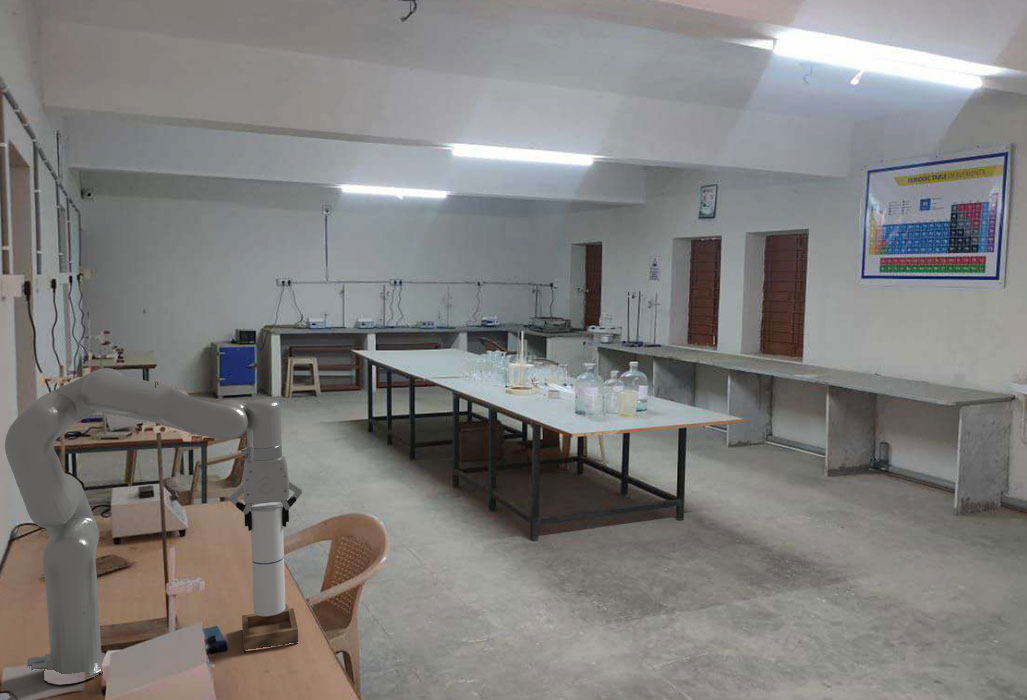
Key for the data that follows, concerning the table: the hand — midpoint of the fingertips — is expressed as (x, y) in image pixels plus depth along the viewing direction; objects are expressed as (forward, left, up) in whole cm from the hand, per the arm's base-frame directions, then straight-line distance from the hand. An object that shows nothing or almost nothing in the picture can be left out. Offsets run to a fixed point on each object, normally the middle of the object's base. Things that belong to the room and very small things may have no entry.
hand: (267, 526), depth 178 cm
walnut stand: (0, 0, -27) cm, 27 cm away
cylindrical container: (0, 0, -20) cm, 20 cm away
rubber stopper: (+3, +9, -27) cm, 29 cm away
